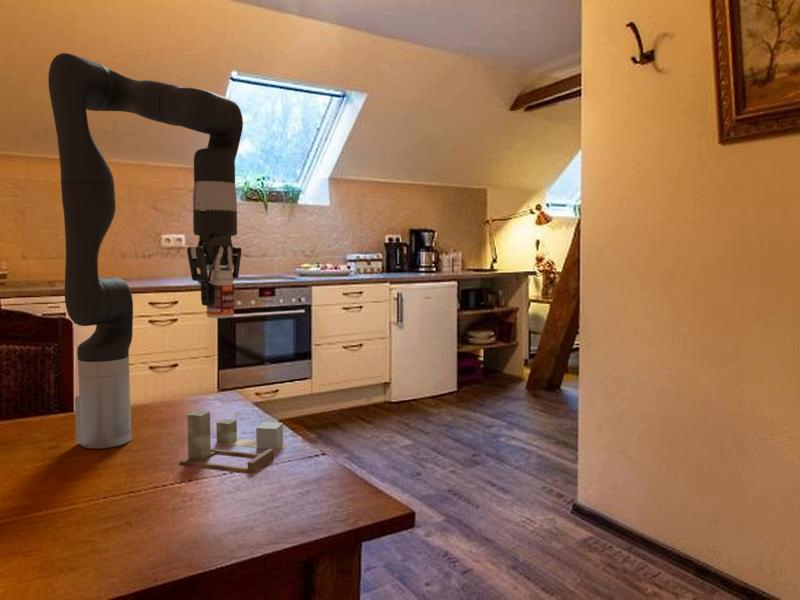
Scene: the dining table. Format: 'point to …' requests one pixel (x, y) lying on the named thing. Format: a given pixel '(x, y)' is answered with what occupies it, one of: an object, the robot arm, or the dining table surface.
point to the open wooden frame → (202, 449)
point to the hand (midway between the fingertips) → (216, 303)
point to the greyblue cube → (269, 435)
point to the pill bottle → (222, 296)
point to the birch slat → (234, 435)
